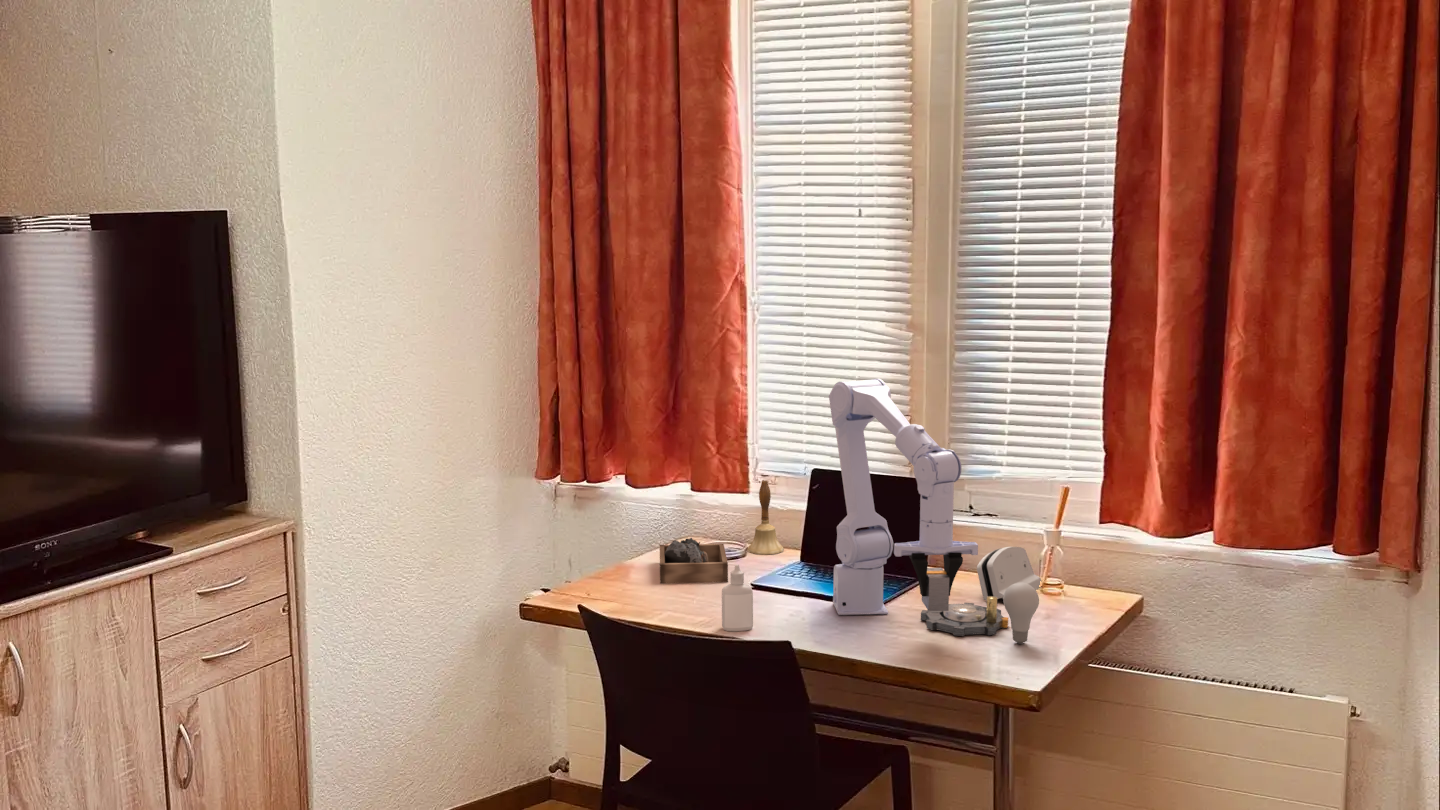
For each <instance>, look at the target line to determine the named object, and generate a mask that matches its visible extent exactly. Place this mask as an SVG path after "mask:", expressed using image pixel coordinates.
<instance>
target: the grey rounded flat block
mask: <svg viewBox="0 0 1440 810" xmlns="http://www.w3.org/2000/svg"><path fill="white" fill-rule="evenodd" d="M976 571H977V572H976V573H977V575H978V577H977V578H978V581H979V586H980V590H981V593H982V594H981V595H982V599H983V601H984V600H986V601H985V602H987V597H988V596H994V597H997V600H999V599H1003V597H1004V593H1005V591H1006V590H1007V588H1008V587H1009V586H1011V585H1012V584H1015V583H1027V584H1029V585H1031V586H1032V587H1033V588H1034V589H1035V590H1036V591H1037V590H1038V589H1040V588H1039V585H1040V581H1041V582H1042V579H1041V577H1040V576H1038V575H1037V574H1035V571H1034V569H1033V566H1032V564H1031V561H1030V559H1029V555H1028V553H1027V551H1026V549H1025V547H1021V546H1005V547H1000V548H996V549H994V550H993V551H990V552H988V553H987V554H985V555H984V556H983V557H982V558H981V559H980V561H979V562H978V564H977V565H976Z"/></svg>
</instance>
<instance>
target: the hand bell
mask: <svg viewBox="0 0 1440 810" xmlns="http://www.w3.org/2000/svg"><path fill="white" fill-rule="evenodd" d="M771 495H772V494H771V489H770V486H769V483H768V480H762V481H761V484H760V488H759V491H758V496H759V498H758V499H759V504H760V506H761V507H760V508H761V523H760V524H758V525H757V526H755V529H754V530H755V531H754V537H753V540H752V542H751V544H750V545H749V546H748V547H747V549H746V550H747V552H749V553H750V554H753V555H761V556H763V555H764V556H768V555H778V554H780V553H782V552H784V551H785V549H784V547H783V545H782V544H781V543H780V542H779V540H778V538H777V537H778V536H777V534H776V527H775V526H774V525H772V524H770V517H769V516H770V515H769V507H770V503H771Z"/></svg>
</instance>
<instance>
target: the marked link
mask: <svg viewBox="0 0 1440 810" xmlns="http://www.w3.org/2000/svg"><path fill="white" fill-rule="evenodd" d="M926 583H927V593H926V596H922V595H921V602H922V603H923V605H924V607H925V608H926V610H928V611H949V604H950V603H949V601H950V599H949V598H950V596H949V577H948V575H947V573H946V572H945V571H944V568H943V567H927V577H926Z"/></svg>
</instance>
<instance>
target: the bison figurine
mask: <svg viewBox="0 0 1440 810" xmlns="http://www.w3.org/2000/svg"><path fill="white" fill-rule="evenodd" d="M699 544H701V541H699V542H698V541H697V540H696V539H693V538H692V537H690V538H686V539H682V540H680V541H678V540H676V539H674V540H672V542H671V543H669V544H668V545H669V546H668V548H667V550H666V552H665V553H664V555H665V563H704V562H709V561H708V557H707V553H706V552H704V551H702V552H701V551H700V547H699Z"/></svg>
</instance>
